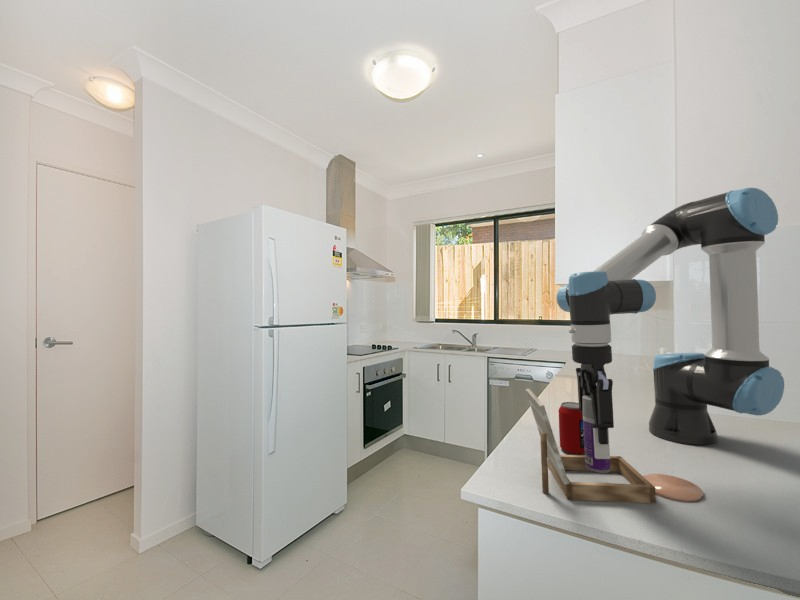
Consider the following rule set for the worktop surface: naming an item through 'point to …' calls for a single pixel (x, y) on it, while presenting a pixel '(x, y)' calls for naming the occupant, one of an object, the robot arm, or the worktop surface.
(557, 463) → the wooden frame
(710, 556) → the worktop surface
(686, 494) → the saucer
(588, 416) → the container
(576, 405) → the beverage can
